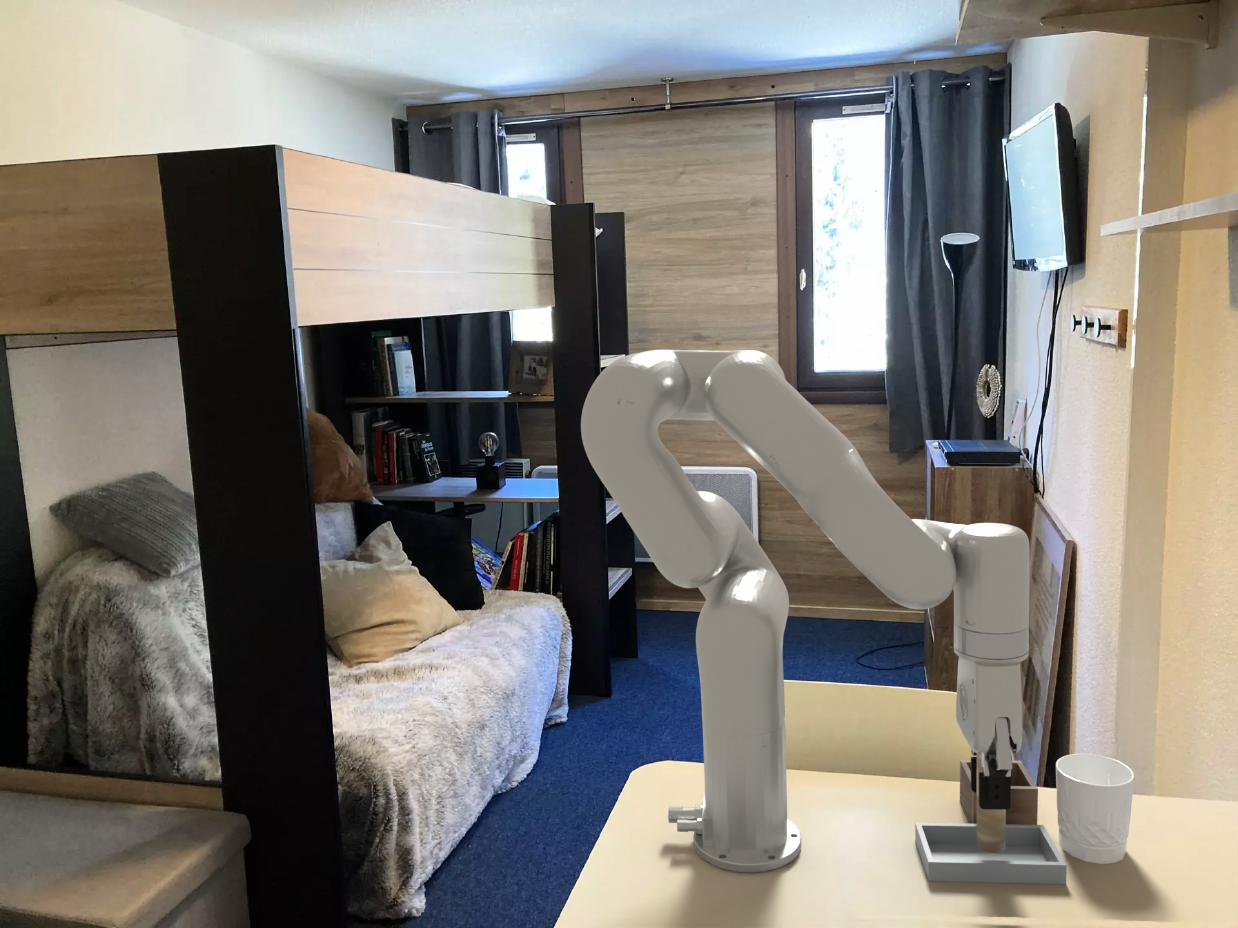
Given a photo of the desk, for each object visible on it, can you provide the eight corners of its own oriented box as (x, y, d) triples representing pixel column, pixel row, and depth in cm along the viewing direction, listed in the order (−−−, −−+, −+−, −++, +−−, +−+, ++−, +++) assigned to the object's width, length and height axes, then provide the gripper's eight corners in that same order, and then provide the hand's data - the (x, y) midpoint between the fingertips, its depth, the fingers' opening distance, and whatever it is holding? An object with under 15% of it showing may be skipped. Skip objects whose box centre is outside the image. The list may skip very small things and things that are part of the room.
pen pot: (973, 835, 116) (973, 787, 115) (959, 804, 123) (960, 759, 122) (1036, 836, 115) (1037, 788, 115) (1019, 805, 123) (1020, 760, 122)
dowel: (980, 852, 108) (980, 749, 106) (973, 837, 111) (973, 737, 109) (1008, 852, 108) (1009, 749, 106) (1001, 838, 111) (1002, 737, 109)
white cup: (1140, 873, 107) (1143, 787, 106) (1062, 868, 109) (1064, 783, 107) (1119, 835, 115) (1122, 754, 113) (1047, 831, 117) (1048, 751, 115)
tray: (928, 885, 107) (928, 861, 107) (915, 844, 115) (915, 822, 115) (1066, 889, 105) (1066, 864, 105) (1042, 847, 113) (1043, 824, 113)
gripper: (939, 616, 114) (940, 765, 117) (972, 667, 98) (972, 838, 101) (1007, 615, 113) (1006, 765, 116) (1051, 666, 97) (1048, 839, 100)
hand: (990, 797), depth 109 cm, fingers closed on dowel, 3 cm apart
